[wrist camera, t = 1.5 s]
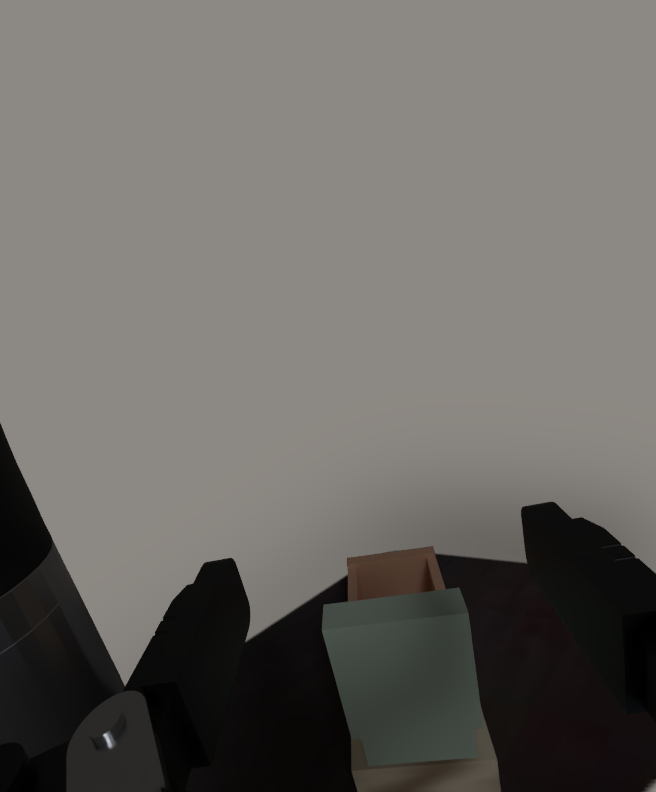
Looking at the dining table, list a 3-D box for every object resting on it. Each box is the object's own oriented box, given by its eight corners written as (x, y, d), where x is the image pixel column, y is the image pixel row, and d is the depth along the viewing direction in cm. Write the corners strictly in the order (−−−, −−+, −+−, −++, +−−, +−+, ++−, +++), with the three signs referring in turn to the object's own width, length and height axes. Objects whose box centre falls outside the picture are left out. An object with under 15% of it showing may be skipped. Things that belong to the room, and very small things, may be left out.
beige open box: (364, 815, 22) (351, 771, 21) (359, 667, 31) (350, 629, 30) (502, 806, 22) (496, 759, 20) (458, 656, 30) (452, 617, 29)
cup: (359, 667, 31) (346, 615, 30) (357, 604, 37) (346, 558, 36) (458, 656, 30) (450, 602, 29) (440, 593, 36) (432, 546, 35)
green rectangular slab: (359, 766, 21) (321, 630, 18) (358, 717, 24) (324, 589, 21) (487, 756, 20) (468, 612, 18) (472, 706, 23) (453, 572, 20)
